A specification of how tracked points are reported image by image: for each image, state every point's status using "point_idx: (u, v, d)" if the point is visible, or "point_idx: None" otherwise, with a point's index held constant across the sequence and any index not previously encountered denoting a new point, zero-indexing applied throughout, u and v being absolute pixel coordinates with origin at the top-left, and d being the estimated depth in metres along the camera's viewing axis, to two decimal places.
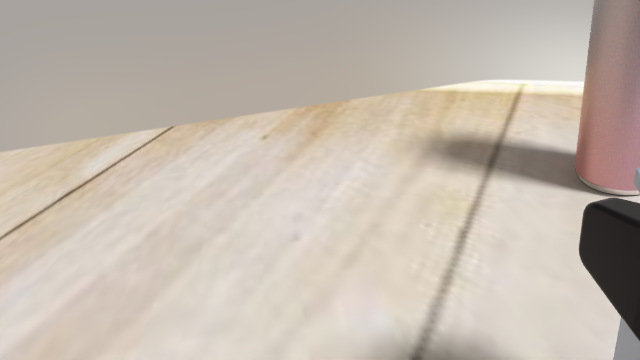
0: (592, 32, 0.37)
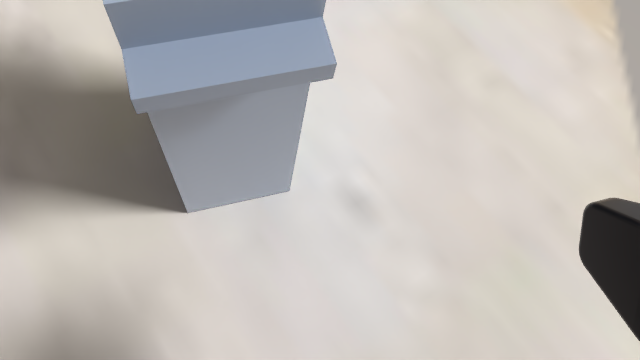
0: None
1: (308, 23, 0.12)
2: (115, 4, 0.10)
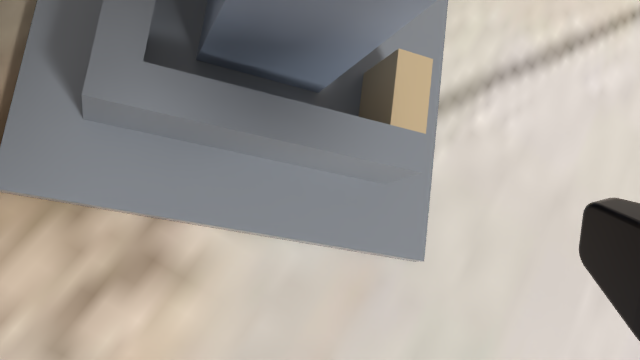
0: None
1: None
2: None
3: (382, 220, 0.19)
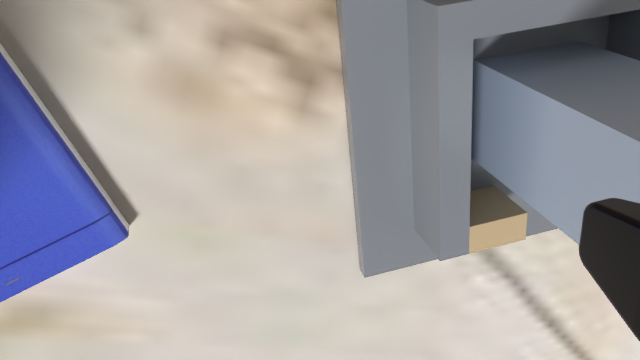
0: None
1: None
2: None
3: (386, 238, 0.23)
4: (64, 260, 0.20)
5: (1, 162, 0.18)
